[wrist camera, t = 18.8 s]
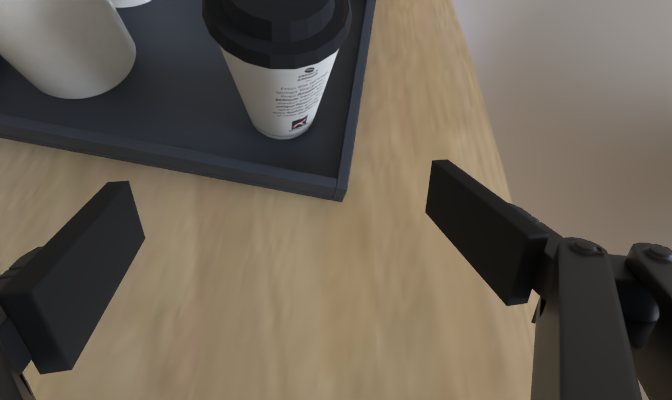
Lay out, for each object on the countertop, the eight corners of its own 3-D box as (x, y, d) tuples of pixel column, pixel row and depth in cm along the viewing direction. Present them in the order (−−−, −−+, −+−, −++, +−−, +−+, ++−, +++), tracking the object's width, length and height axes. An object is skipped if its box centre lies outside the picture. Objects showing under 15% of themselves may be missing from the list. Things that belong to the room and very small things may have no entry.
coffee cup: (328, 160, 23) (355, 55, 14) (222, 149, 23) (176, 30, 13) (334, 75, 26) (361, -64, 16) (238, 63, 25) (208, -91, 16)
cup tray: (-44, 129, 21) (-79, 109, 19) (81, -77, 28) (65, -108, 26) (341, 202, 23) (346, 190, 21) (374, -8, 30) (380, -32, 28)
